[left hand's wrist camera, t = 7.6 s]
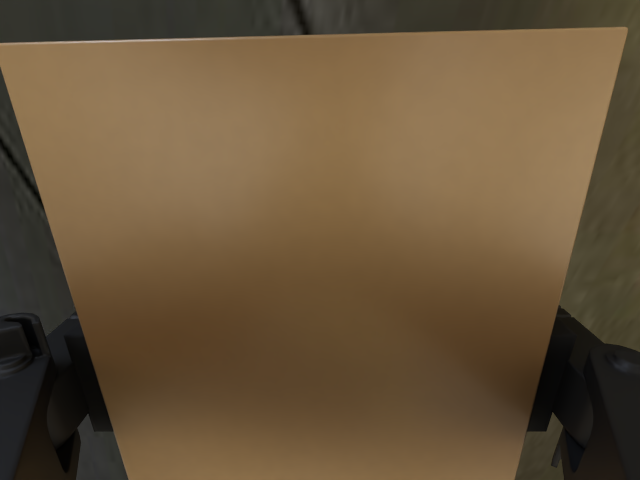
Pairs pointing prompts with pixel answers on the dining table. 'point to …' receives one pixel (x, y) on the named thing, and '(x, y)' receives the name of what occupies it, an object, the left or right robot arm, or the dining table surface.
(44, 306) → the dining table surface
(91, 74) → the wide beam
